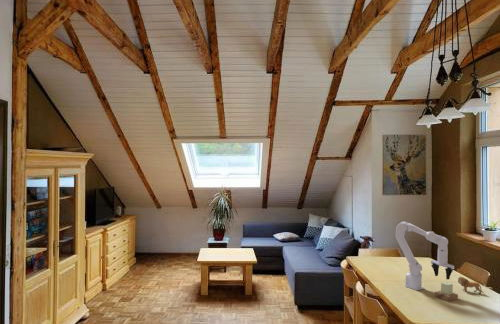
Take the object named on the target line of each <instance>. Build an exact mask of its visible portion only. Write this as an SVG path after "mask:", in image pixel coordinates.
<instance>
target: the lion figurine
mask: <svg viewBox="0 0 500 324" xmlns="http://www.w3.org/2000/svg"><path fill="white" fill-rule="evenodd" d="M457 283H458V284H460V286H461V287H463V289H462V290H463V291H464V292H465V293H467V291H468V288H471V289H472V288H474V289H475V290H473V292H474V293H476V292H478V291H479V292H478V294H479V295H481V294H484V293H485V292H484V291H483V290H482V287H481V284H480V283H479V282H477V281H470V280H468V279H467V278H465V277H462V276H459V277H458V279H457Z"/></svg>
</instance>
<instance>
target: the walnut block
mask: <svg viewBox="0 0 500 324" xmlns="http://www.w3.org/2000/svg"><path fill="white" fill-rule="evenodd" d="M434 298H437V299H440V300H442V301H445V302H448V303H449V302H452V301H458V300H459V294H457V293H455V292H453V293H452V294H450V295H447V294H444V293H441V290H438V291H434Z"/></svg>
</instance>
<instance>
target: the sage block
mask: <svg viewBox="0 0 500 324" xmlns="http://www.w3.org/2000/svg"><path fill="white" fill-rule="evenodd" d="M453 287H454V285H453V283H451V282H447V281H444V282H441V283H440V291H441V293H444V294H447V295H450V294H452V293H454V292H453V291H454V290H453Z"/></svg>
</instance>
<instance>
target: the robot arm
mask: <svg viewBox="0 0 500 324" xmlns="http://www.w3.org/2000/svg"><path fill="white" fill-rule="evenodd" d="M406 232H413V233H416V234H418V235H421V236H423V237H425V239H426V240H427V241H429V242H431V243H433V244H435V245H437V260H434V259H433V260H430V264H431V267H432V269H433V273H434V276H435V277H438V276H439V268H440V267H444V268H445V277H446V278H445V279H446V280H450V277H451V275H452V273H453V271H454V270H455V265H453V264H450V263H448V261H449V260H448V258H449V257H448V255H449V253H448V252H449V249H448V248H449V247H448V245H449V239H448V238H447V237H445V236H442V235H438V234H436V233H435V232H434V231H433V230H432V231H426V230H424V229H422V228H420V227H419V226H417V225H414V224H412V223H410V222H407V221H405V220H404V221H400V223H398V224H397V225H396V227H395V239H396V241H397V243H398V245H399V247H400V249H401V251H402V253H403V255H404V257H405V259H406V261H407V264H408V267H409V272H407V273H406V275H405V285H404V286H405V287H406V288H409V289H412V290H415V291H419V290H424V289H425V287H424V286H423V285H422V282H423V281H422V279H423V278H422V277H423V276H422V275H423V274H422V273H421V272H422V270H423V266H422V265H421V263H419V262H418V260H417V259H416V257H415V256H414V254H413V252H412V249H411V248H410V246H409V244H408V242H407V240H406V238H405V235H406Z"/></svg>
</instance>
